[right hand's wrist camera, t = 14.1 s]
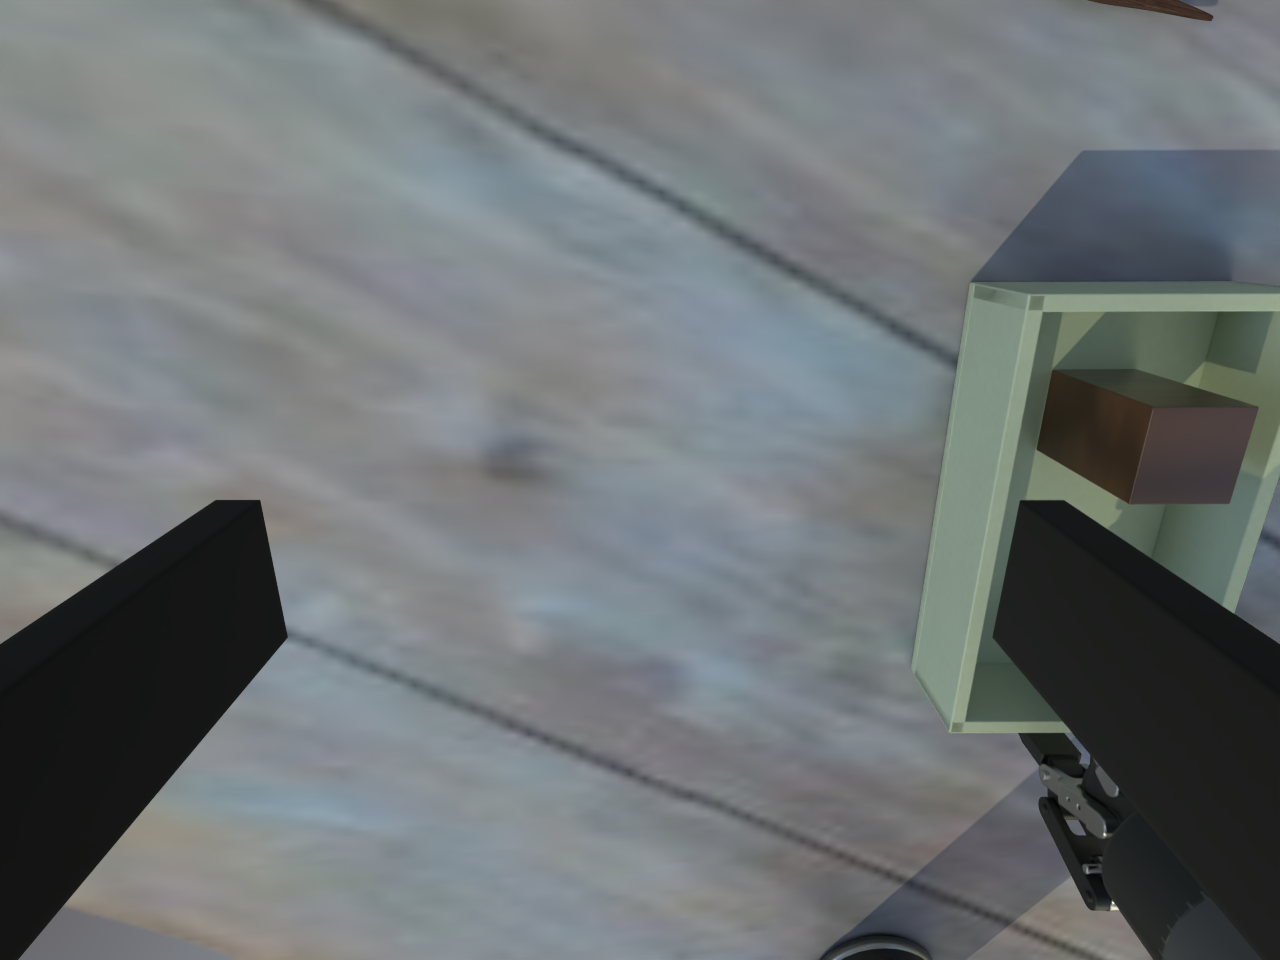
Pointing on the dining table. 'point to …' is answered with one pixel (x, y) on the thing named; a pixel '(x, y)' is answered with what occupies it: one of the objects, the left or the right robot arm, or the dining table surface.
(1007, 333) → the tote
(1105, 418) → the walnut block
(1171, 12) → the fork
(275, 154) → the dining table surface
